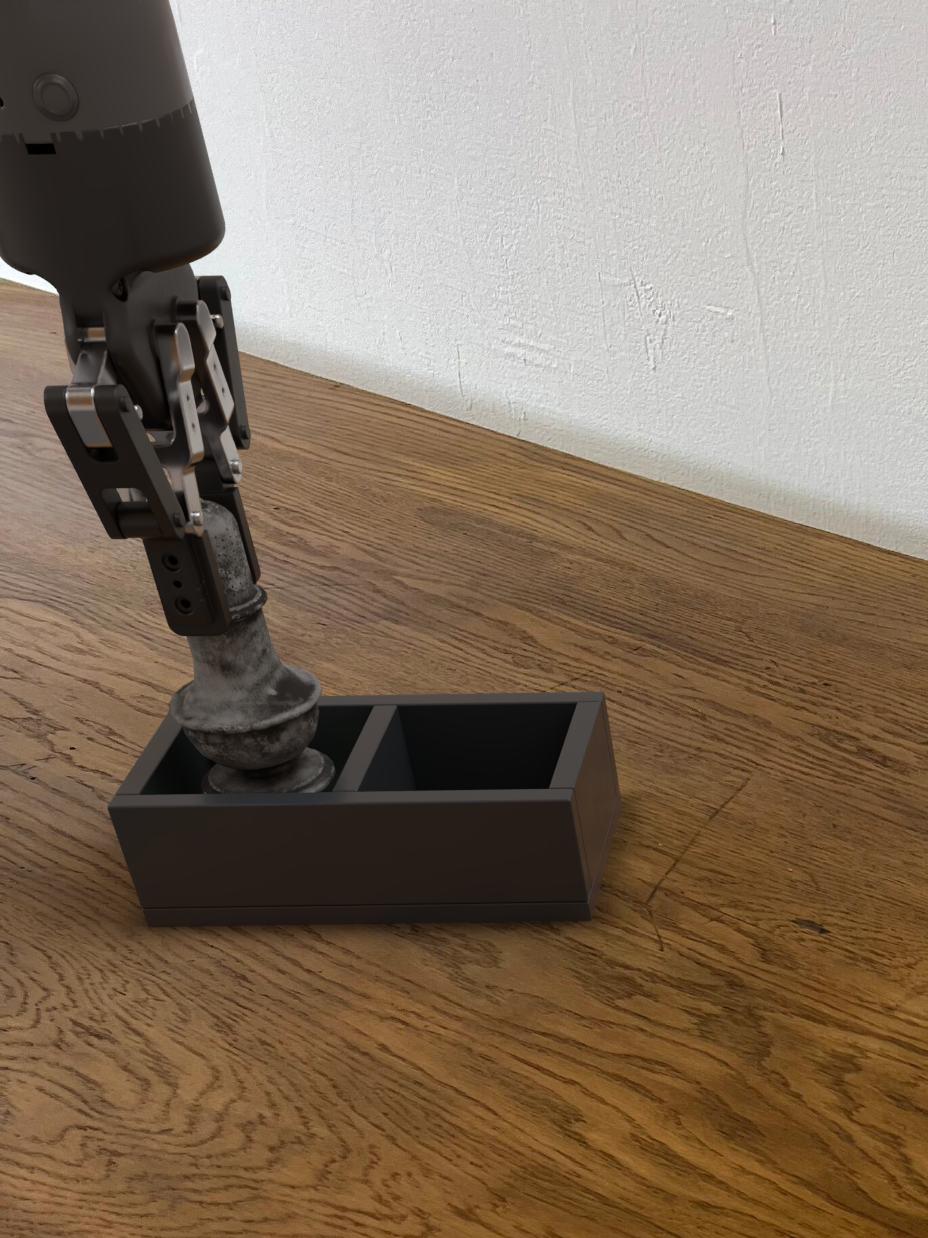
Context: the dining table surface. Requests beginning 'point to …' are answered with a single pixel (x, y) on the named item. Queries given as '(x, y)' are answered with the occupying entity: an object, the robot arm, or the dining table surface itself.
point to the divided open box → (387, 818)
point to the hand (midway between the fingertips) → (217, 606)
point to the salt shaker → (248, 690)
